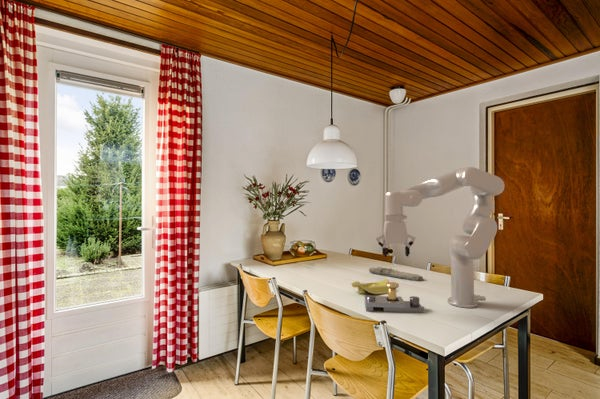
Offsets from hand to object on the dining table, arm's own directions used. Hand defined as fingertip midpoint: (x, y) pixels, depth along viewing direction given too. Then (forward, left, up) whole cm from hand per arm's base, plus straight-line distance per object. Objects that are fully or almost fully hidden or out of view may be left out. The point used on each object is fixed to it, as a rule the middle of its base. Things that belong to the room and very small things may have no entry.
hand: (396, 256), depth 146 cm
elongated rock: (-8, -56, -24) cm, 61 cm away
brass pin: (+2, +3, -23) cm, 23 cm away
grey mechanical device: (+2, +3, -23) cm, 23 cm away
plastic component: (+10, -22, -23) cm, 33 cm away
